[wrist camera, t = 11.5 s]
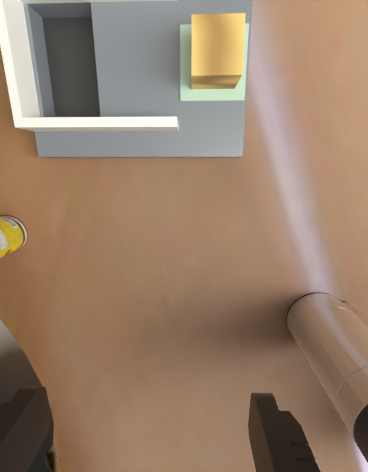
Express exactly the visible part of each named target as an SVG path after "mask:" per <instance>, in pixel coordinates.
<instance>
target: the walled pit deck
mask: <svg viewBox="0 0 368 472" xmlns="http://www.w3.org/2000/svg"><path fill="white" fill-rule="evenodd" d="M228 13H246V16H245V35H244V54H243V73H242V76H241V78H240V80H239V82H238V84H237V85H236V87H235V89H192V84H191V56H192V14H228ZM251 16H252V0H0V46H1V52H2V57H3V63H4V69H5V74H6V80H7V86H8V91H9V97H10V102H11V108H12V114H13V119H14V125H15V128H20V129H25V130H29V131H34V132H35V138H36V145H37V151H38V157H51V158H75V157H243V143H244V127H245V111H246V96H247V80H248V64H249V48H250V32H251Z"/></svg>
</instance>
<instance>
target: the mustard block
mask: <svg viewBox="0 0 368 472" xmlns="http://www.w3.org/2000/svg"><path fill="white" fill-rule="evenodd" d="M245 16H246V13H228V14H192V56H191V84H192V89H235V87H236V85H237V84H238V82H239V80H240V78H241V76H242V73H243V54H244V35H245Z"/></svg>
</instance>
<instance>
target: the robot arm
mask: <svg viewBox="0 0 368 472" xmlns="http://www.w3.org/2000/svg"><path fill="white" fill-rule="evenodd" d="M287 325H288V328H289V330H290V332H291V334H292V336H293V338H294V339H295V340H296V342H297V344H298V346H299V348H300V349H301V351H302V353H303V354H304V356H305V358H306V359H307V361H308V363H309V365H310V366H311V368H312V370H313V371H314V373H315V375H316V376H317V378H318V380H319V381H320V383H321V385H322V387H323V388H324V390H325V392H326V393H327V395H328V397H329V398H330V400H331V402H332V403H333V405H334V407H335V409H336V410H337V412H338V414H339V415H340V417H341V419H342V420H343V422H344V424H345V425H346V427H347V429H348V430H349V432H350V434H351V436H352V437H353V439H354V441H355V442H356V444H357V446H358V447H359V449H360V451H361V452H362V454H363V456H364V457H365V459H366V460H367V462H368V320H367V319H366V318H364V317H363V316H362V315H361V314H360V313H359V312H358V311H356V310H355V309H354V308H353V307H352V306H351V305H350V304H349V303H347V302H341V301H339V300H338V299H337V298H335V297H334V296H331V295H329V294H324V293H315V294H310V295H307V296H304V297H303V298H301V299H299V300H298V301H297V302H296V303H294V305H293V306H292V307H291V309H290V311H289V313H288V316H287ZM50 423H51V412H50V407H49V402H48V397H47V392H46V388H45V387H42V386H23V387H22V388H20V389H19V390H18V392H17V393H16V394H15V396H14V397H13V398H12V399H11V401H10V402H4V403H3V404H1V405H0V472H27V470H28V469H29V467H30V465H31V463H32V461H33V459H34V457H35V456H36V454H37V452H38V450H39V448H40V446H41V444H42V443H43V441H44V439H45V437H46V435H47V433H48V430H49V427H50ZM248 427H249V438H250V444H251V449H252V453H253V458H254V463H255V468H256V472H320V470H319V468H318V465H317V463H316V462H315V458H314V456H313V453H312V451H311V449H310V447H309V445H308V441H307V439H306V437H305V434H304V432H303V430H302V427H301V425H300V424H299V423H298V422H297V420H296V419H295V418H294V417H293V415H292V414H291V413H290V412H289V411H279V409H278V407H277V404H276V401H275V398H274V396H273V394H271V393H252V394H251V401H250V411H249V422H248Z"/></svg>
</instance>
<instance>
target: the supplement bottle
mask: <svg viewBox="0 0 368 472" xmlns="http://www.w3.org/2000/svg"><path fill="white" fill-rule="evenodd" d="M26 240H27V233H26V229H25V227H24V226H23V224H22V223H21V222H20V221H18V220H17V219H15V218H13V217H9V216H2V217H0V258H2V257H4V256H6V255H8V254H9V253H11V252H13V251H16V250H17V249H19V248H21V247H22V246H23V245H24V244H25V242H26Z"/></svg>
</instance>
